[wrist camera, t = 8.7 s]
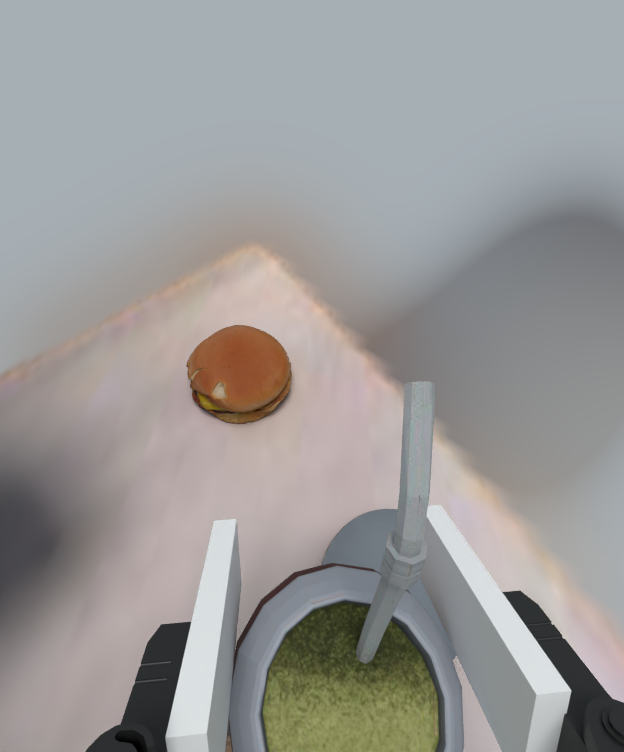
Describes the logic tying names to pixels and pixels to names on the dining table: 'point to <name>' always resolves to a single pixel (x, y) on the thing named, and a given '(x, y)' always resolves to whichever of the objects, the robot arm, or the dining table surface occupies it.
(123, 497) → the dining table surface
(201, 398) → the burger
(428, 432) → the mate gourd
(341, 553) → the slate coaster
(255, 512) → the dining table surface
